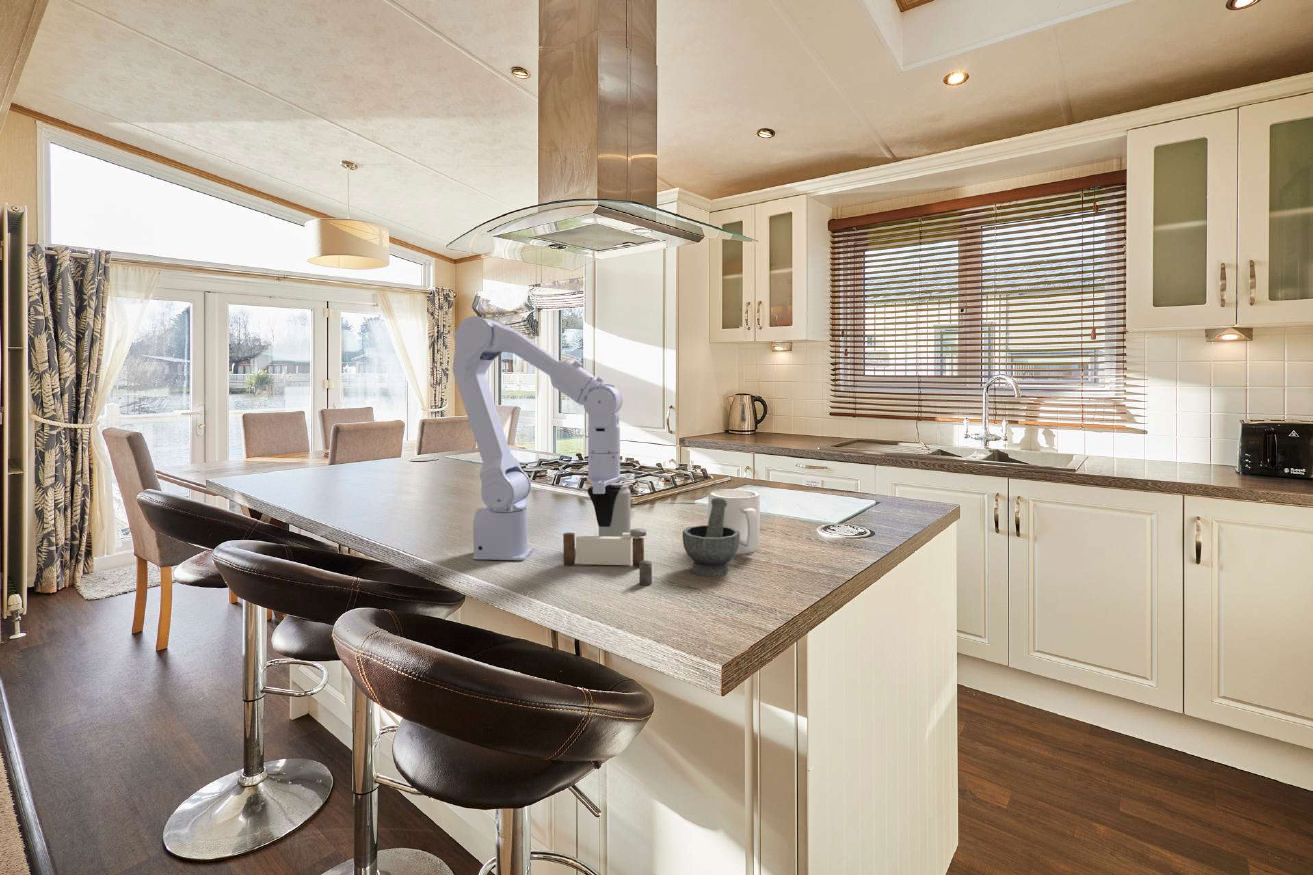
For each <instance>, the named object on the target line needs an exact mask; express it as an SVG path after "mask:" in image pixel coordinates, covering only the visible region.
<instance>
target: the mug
mask: <svg viewBox="0 0 1313 875" xmlns="http://www.w3.org/2000/svg"><path fill="white" fill-rule="evenodd" d="M707 493H708V494H707V523H708V522H709V518H710V513H711V509H712V503H711V501H712V499H714V498H721V499H724V500H726V502H727V506H726V507H725V513H724V525H723V526H724V527H730V528H734V529H735V530H737V531H739V532H740V540H739V546H738V549H737V551H736V553H735V555H739V554H750V553H754V552H757V551H758V550H760V528H761V526H760V524H761V519H760V518H761V493H759V492H757V491H753V490H748V489H737V488H735V489H734V488H725V489H715V490H711V491H708V492H707Z"/></svg>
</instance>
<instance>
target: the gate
mask: <svg viewBox="0 0 1313 875" xmlns="http://www.w3.org/2000/svg"><path fill="white" fill-rule="evenodd" d="M646 536H647V529H645V528H631V530H630V533H623V534H622V537H610V536H599V535H598V536H597V535H577V536H575V537H576V538H575V564H576V565H603V566H604V565H607V566H608V565H613V566H614V565H615V566H616V565H617V566H631V564H632V563H631V561H632V559H631V558H632V554H631V553H632V539H633V538H639V537H642V538H644V537H646Z"/></svg>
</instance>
